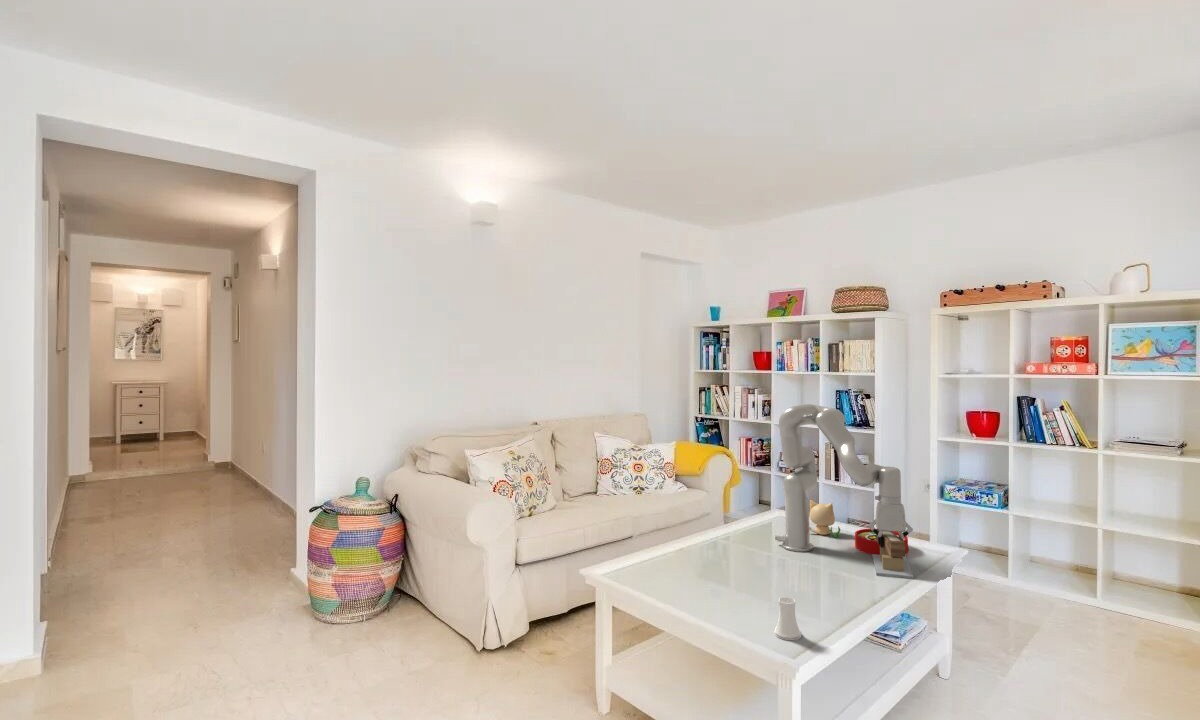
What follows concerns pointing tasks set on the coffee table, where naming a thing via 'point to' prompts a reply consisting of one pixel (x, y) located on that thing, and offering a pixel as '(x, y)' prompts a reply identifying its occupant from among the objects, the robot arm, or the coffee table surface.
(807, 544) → the robot arm
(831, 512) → the kitten
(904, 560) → the wall board
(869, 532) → the toy clock
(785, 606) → the white flared vase
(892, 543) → the wooden block
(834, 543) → the coffee table surface
